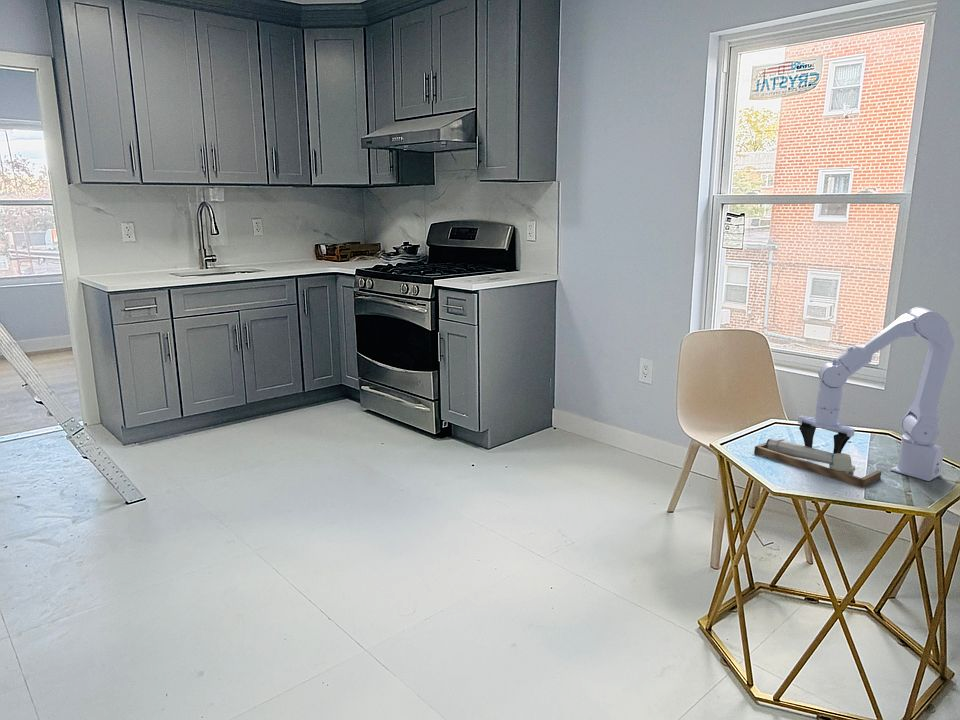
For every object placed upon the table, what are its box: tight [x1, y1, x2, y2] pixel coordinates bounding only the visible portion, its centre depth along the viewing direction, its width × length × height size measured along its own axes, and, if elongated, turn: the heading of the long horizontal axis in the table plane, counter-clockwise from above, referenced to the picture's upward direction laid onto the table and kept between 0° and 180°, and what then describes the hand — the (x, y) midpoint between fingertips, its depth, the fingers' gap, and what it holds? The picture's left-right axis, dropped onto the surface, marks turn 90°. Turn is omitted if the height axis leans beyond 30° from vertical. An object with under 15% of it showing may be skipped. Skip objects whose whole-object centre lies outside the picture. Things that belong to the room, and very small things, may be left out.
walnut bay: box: [753, 442, 883, 488], centre depth 188 cm, size 30×10×2 cm, turn 37°
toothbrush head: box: [765, 437, 856, 476], centre depth 189 cm, size 5×7×25 cm
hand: (821, 454), depth 190 cm, fingers open, 7 cm apart
